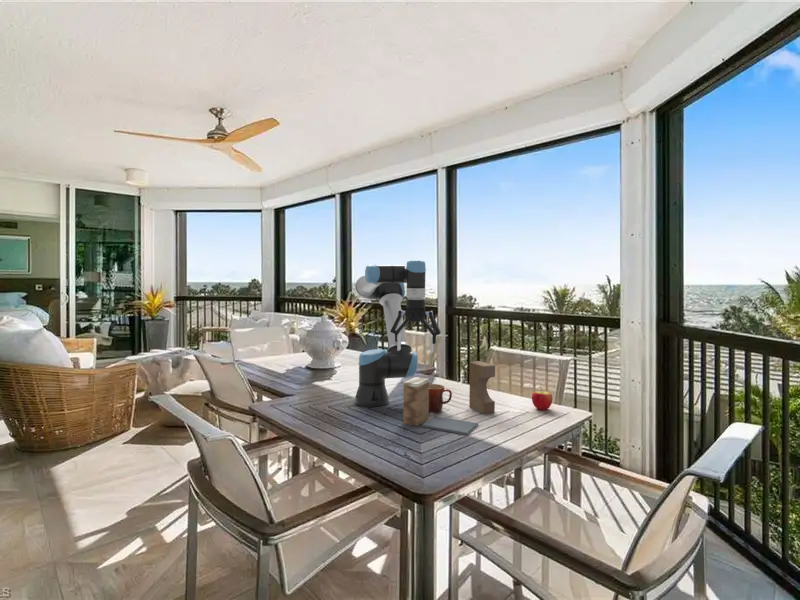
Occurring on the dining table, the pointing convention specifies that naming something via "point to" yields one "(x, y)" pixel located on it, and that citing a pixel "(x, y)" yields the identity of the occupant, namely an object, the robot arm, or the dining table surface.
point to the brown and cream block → (416, 401)
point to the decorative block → (481, 387)
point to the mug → (437, 397)
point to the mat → (450, 425)
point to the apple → (542, 399)
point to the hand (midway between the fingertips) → (415, 351)
